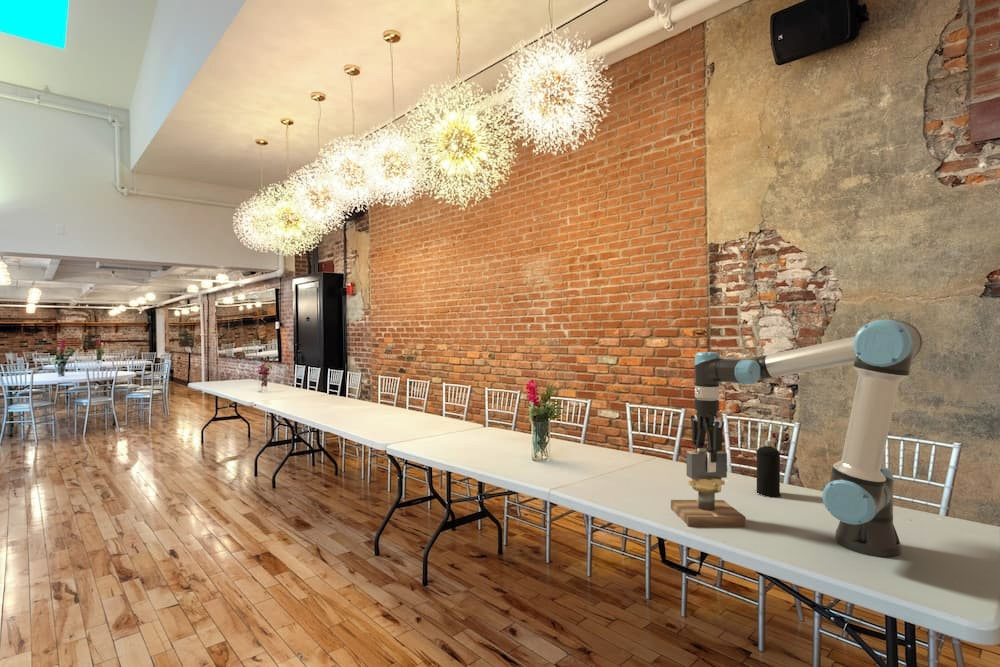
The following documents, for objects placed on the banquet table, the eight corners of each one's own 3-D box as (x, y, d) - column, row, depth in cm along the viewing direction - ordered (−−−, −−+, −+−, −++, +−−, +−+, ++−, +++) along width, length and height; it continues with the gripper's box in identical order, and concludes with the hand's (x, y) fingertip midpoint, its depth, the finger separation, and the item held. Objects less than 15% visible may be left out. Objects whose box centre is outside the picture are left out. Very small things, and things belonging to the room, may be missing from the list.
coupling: (731, 492, 163) (731, 454, 163) (695, 493, 162) (695, 455, 162) (716, 484, 172) (716, 448, 172) (682, 485, 171) (682, 449, 171)
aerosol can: (779, 498, 185) (780, 444, 185) (754, 495, 190) (754, 441, 189) (781, 492, 192) (781, 440, 192) (756, 489, 197) (757, 437, 196)
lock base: (745, 526, 159) (745, 497, 159) (688, 526, 159) (688, 497, 159) (723, 508, 175) (723, 482, 175) (670, 508, 175) (670, 482, 175)
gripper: (680, 396, 174) (680, 464, 174) (715, 402, 157) (714, 478, 157) (699, 395, 176) (698, 462, 176) (735, 401, 159) (735, 476, 160)
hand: (706, 469), depth 167 cm, fingers closed on coupling, 4 cm apart
